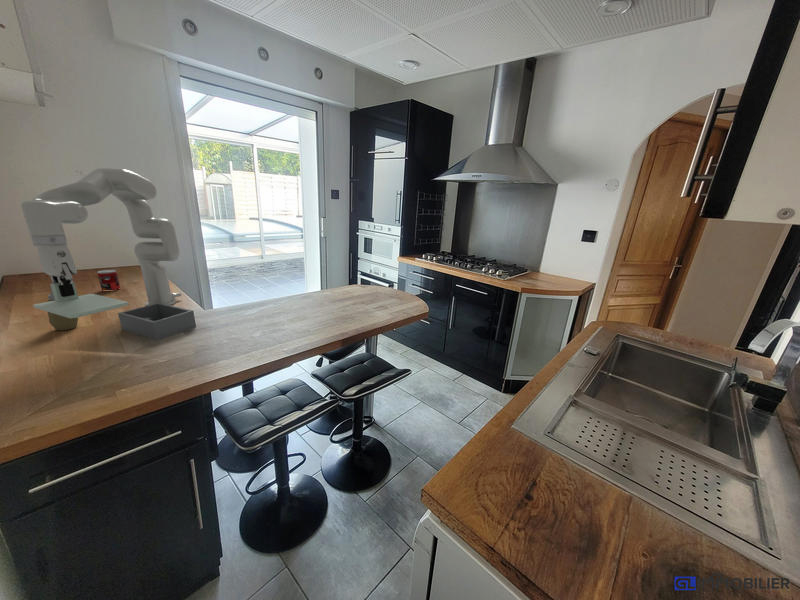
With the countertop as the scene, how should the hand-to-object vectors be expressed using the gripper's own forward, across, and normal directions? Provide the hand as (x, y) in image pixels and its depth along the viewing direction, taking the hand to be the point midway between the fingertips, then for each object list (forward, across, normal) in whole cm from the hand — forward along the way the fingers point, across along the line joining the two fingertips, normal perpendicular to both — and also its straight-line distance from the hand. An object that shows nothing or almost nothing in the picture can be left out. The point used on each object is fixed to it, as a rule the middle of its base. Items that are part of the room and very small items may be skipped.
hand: (65, 294), depth 105 cm
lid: (+3, -9, 0) cm, 10 cm away
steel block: (+18, -5, -18) cm, 26 cm away
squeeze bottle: (+19, +25, -6) cm, 32 cm away
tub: (+19, -9, -21) cm, 30 cm away
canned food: (+19, +74, -45) cm, 89 cm away
